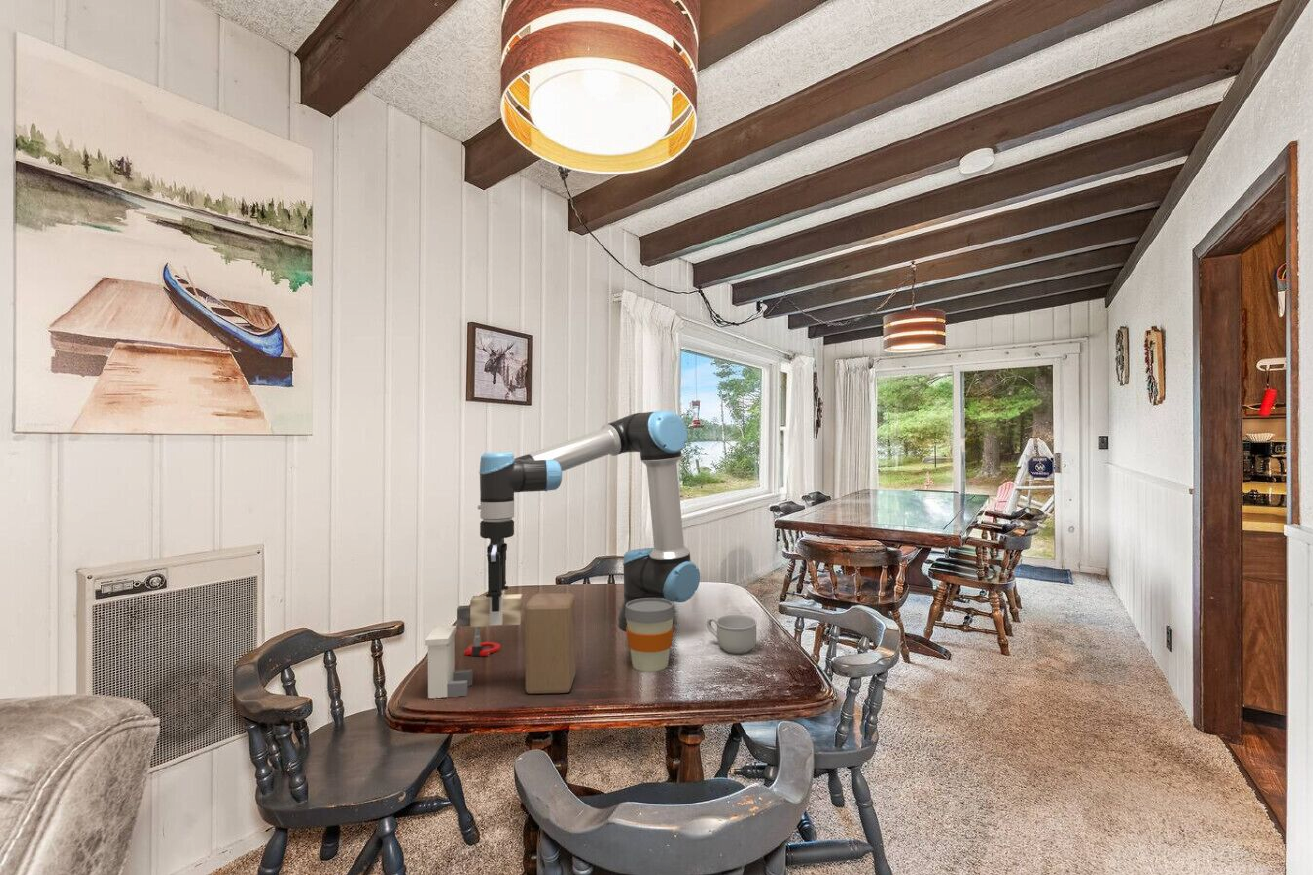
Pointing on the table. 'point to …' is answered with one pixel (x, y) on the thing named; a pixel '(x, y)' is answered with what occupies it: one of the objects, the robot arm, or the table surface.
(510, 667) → the table surface
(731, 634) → the teacup
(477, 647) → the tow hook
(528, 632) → the block
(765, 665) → the table surface
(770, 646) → the table surface
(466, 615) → the rail
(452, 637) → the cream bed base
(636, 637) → the reusable coffee cup
